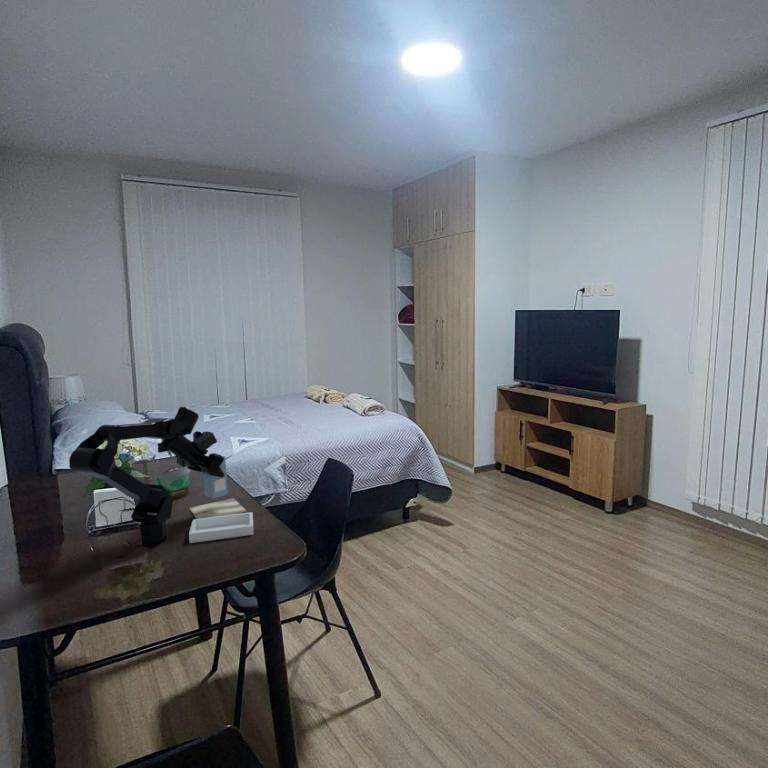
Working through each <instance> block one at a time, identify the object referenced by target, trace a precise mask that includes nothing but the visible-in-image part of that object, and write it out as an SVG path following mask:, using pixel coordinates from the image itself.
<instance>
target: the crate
mask: <svg viewBox="0 0 768 768" xmlns="http://www.w3.org/2000/svg"><path fill="white" fill-rule="evenodd" d="M253 535H254V514H253V511H251V512H247V513H241V514H233V515H225V516H217V517H209V518H201V519H196V518H195V519H194V518H193V519H192V522H191V526H190V528H189V533H188V541H189V544H194V543H200V542H201V543H202V542H210V541H216V540H225V539H232V538H240V537H245V536H246V537H247V536H253Z"/></svg>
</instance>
